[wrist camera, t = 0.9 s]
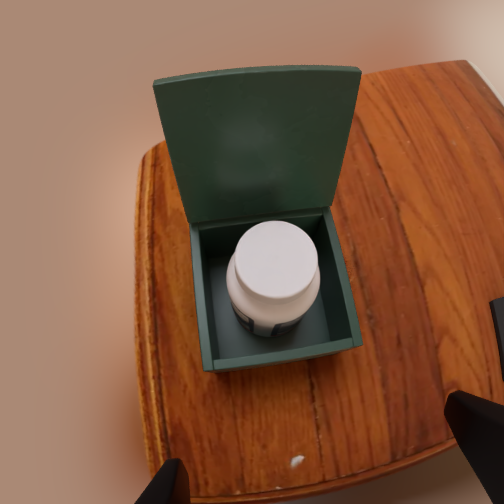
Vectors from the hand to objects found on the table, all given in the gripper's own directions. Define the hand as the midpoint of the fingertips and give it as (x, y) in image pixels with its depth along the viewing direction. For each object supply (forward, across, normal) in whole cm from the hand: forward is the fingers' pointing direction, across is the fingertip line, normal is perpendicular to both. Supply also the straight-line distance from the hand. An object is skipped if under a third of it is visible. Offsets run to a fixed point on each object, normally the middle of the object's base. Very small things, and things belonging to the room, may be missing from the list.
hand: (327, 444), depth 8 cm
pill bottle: (+15, 0, +2) cm, 15 cm away
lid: (+10, 0, -9) cm, 13 cm away
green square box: (+16, 0, +2) cm, 16 cm away
